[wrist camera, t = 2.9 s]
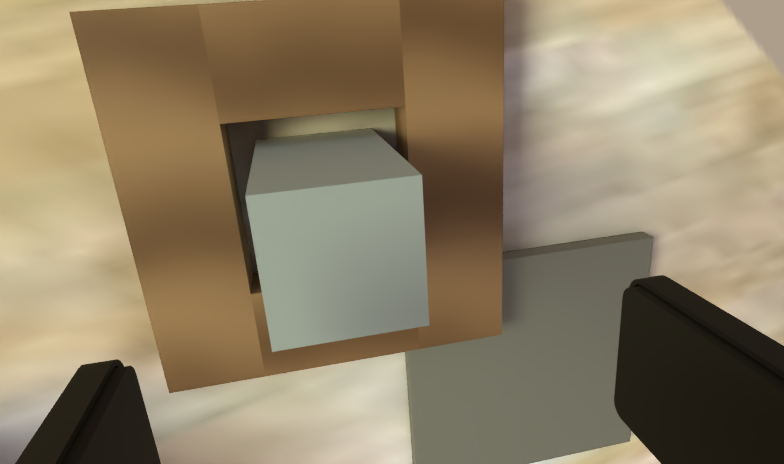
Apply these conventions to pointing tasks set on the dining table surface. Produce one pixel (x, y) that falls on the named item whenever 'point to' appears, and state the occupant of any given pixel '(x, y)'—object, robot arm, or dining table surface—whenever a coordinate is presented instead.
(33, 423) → the dining table surface
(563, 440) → the coaster
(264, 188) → the slate block
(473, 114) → the board
